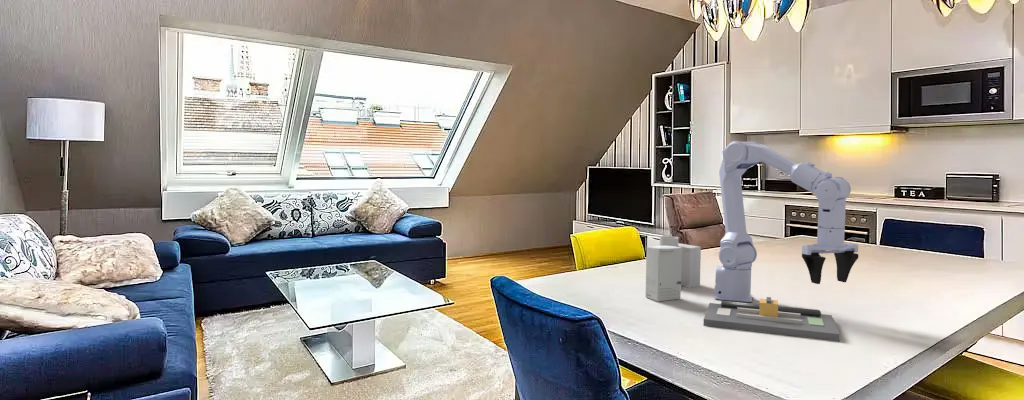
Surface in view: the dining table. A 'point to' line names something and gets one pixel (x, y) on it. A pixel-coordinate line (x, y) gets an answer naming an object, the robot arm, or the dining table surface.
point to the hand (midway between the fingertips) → (828, 282)
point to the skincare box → (663, 273)
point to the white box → (686, 261)
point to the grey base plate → (772, 320)
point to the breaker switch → (768, 307)
